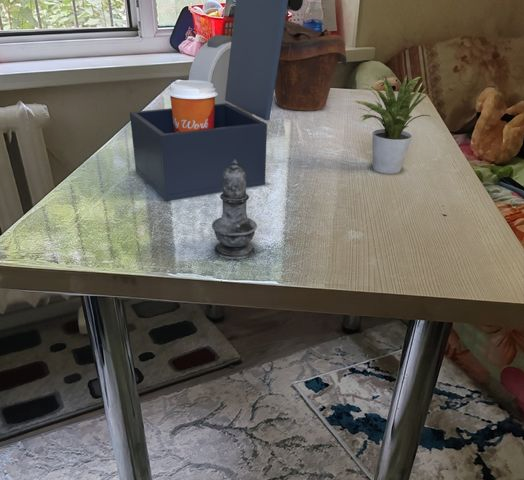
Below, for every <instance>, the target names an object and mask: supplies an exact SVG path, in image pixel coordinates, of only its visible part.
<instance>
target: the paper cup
mask: <svg viewBox="0 0 524 480" xmlns="http://www.w3.org/2000/svg"><path fill="white" fill-rule="evenodd" d="M167 94H168V95H169V96H170V97H169V98H170V105H171V108H172V115H173V124H174V133H175V132H184V131H193V130H202V129H210V128H214V112H215V96H217V95H218V94H217V92H216V91H215V88H214V86H213V84H212V83H210V82H207V81H199V80H189V79H186V80H185V79H184V80H177V81H174V82H172V83H171V84H170V85H169V90H168V91H167Z"/></svg>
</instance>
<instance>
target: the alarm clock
mask: <svg viewBox="0 0 524 480" xmlns="http://www.w3.org/2000/svg"><path fill="white" fill-rule="evenodd" d="M231 40H232V36H228V35H222V34H215V35H212V36H211V37H209V39H208V40H207V42H205V43H204V44H203V45H202V46H201V47H199V49H198V51H197V53H196V54H195V56H194V58H193V61H192V63H191V66H190V70H189V74H188V80H199V81H207V82H210V83H212V84H213V86H214V88H215V91H216V92H217V94H218V95H217V96H215V104H223V103H227V104H229V105H231V106H233V107H235V108H237V109H239V110H241V111H243V112H245V113H247V114H249V115H251V116H253V114H252V113H250V112H248V111H246V110H244V109H242V108H240V107H238V106H236V105H234V104H232V103H230V102H228V101H226V100H225V94H226V85H227V76H228V67H229V58H230V49H231Z"/></svg>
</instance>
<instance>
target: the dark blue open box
mask: <svg viewBox="0 0 524 480" xmlns="http://www.w3.org/2000/svg"><path fill="white" fill-rule="evenodd" d="M129 121H130V126H131V127H130V129H131V139H132V146H133V147H132V148H133V157H134V165H135V172H136V173H137V174H138V175H139V176H140V177H141V178H142V179H143V180H144V181H145V182H147V184H148V185H149V186H150V187H151V188H152V189H154V191H155V192H156V193H157V194H159V196H160V197H162V198H163V199H164V200H165V202H168V201H174V200H180V199H185V198H191V197H197V196H205V195H210V194H217V193H221V192H222V193H223V172H224V170H225V169H226V168H228V167H231V166H232V165H233V164H232V162H233V160H234V159H235V160H236V162H237V164H236V165H237V166H238V167H241V168H242V169H244V170H245V172H246V189H247V188H251V187H252V188H253V187H258V186H264V185H266V165H267V162H266V161H267V136H268V135H267V134H268V123H266V122H265V121H264V120H260V119H259V118H256V117H254V116H253V115H252V116H251V115H249V114H247V113H245V112H243V111H241V110H239V109H237V108H235V107H233V106H231V105H229V104H227V103H223V104H215V112H214V128H210V129H202V130H193V131H184V132H175V133H174V124H173V115H172V107H170V108H159V109H149V110H137V111H130V112H129Z"/></svg>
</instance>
